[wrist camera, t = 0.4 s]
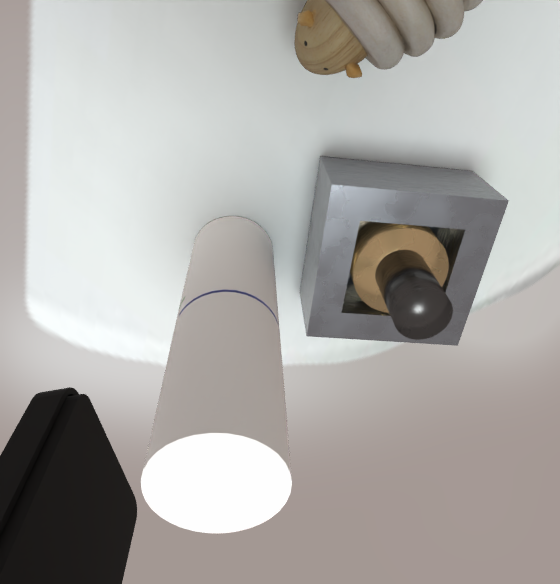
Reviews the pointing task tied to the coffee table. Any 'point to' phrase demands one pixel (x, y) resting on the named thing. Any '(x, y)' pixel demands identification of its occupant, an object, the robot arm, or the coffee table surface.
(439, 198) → the block
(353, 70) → the toy sheep
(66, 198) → the coffee table surface
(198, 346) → the cylindrical container
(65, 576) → the robot arm
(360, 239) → the stepped cylindrical shaft
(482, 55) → the coffee table surface
